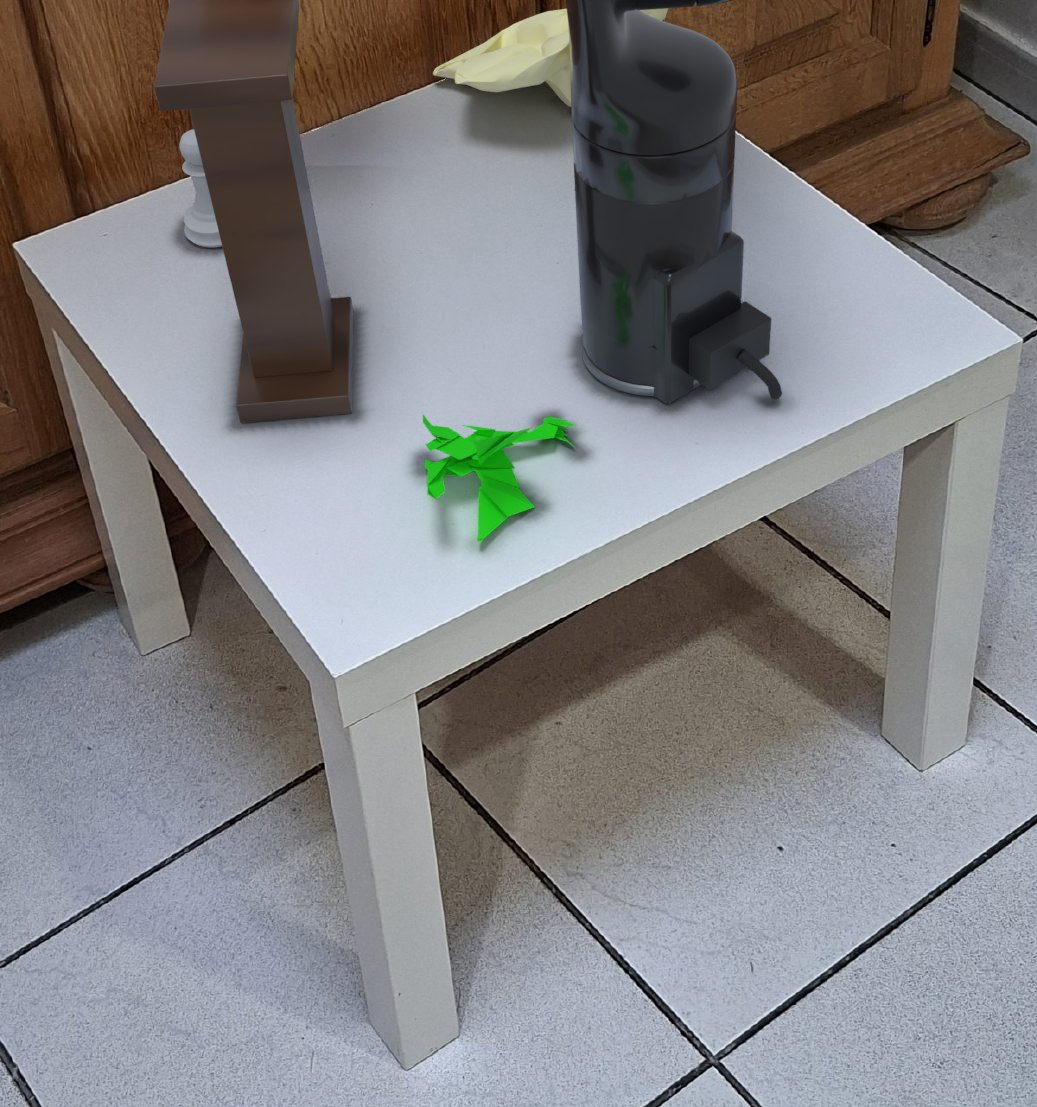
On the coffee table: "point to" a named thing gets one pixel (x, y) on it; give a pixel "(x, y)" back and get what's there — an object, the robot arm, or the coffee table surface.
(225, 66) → the wooden pedestal stand
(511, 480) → the figurine
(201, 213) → the chess piece
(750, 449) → the coffee table surface
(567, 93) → the cloth
